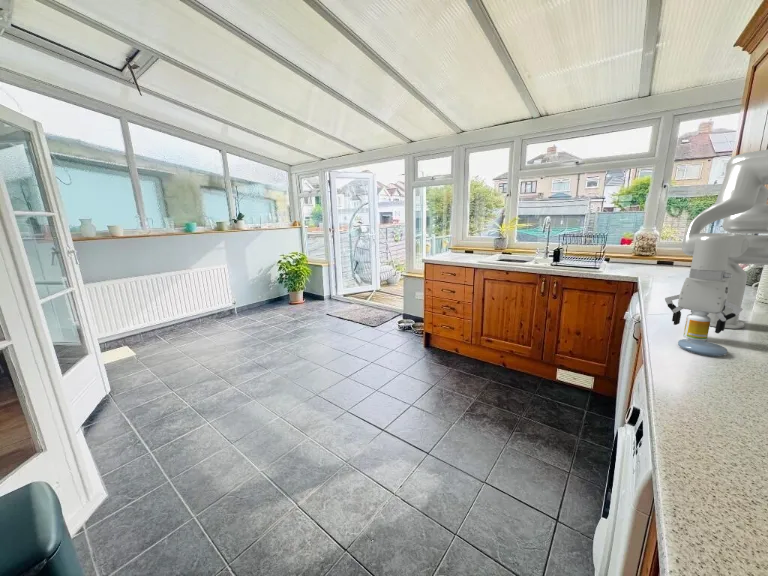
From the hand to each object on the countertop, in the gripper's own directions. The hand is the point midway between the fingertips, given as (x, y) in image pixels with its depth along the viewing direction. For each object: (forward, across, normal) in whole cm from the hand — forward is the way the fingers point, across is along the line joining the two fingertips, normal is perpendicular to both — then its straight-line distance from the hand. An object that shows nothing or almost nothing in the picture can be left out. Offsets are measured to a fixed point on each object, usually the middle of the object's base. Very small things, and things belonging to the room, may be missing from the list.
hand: (696, 328), depth 98 cm
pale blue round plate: (+4, -4, +10) cm, 12 cm away
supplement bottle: (+4, 0, -1) cm, 4 cm away
